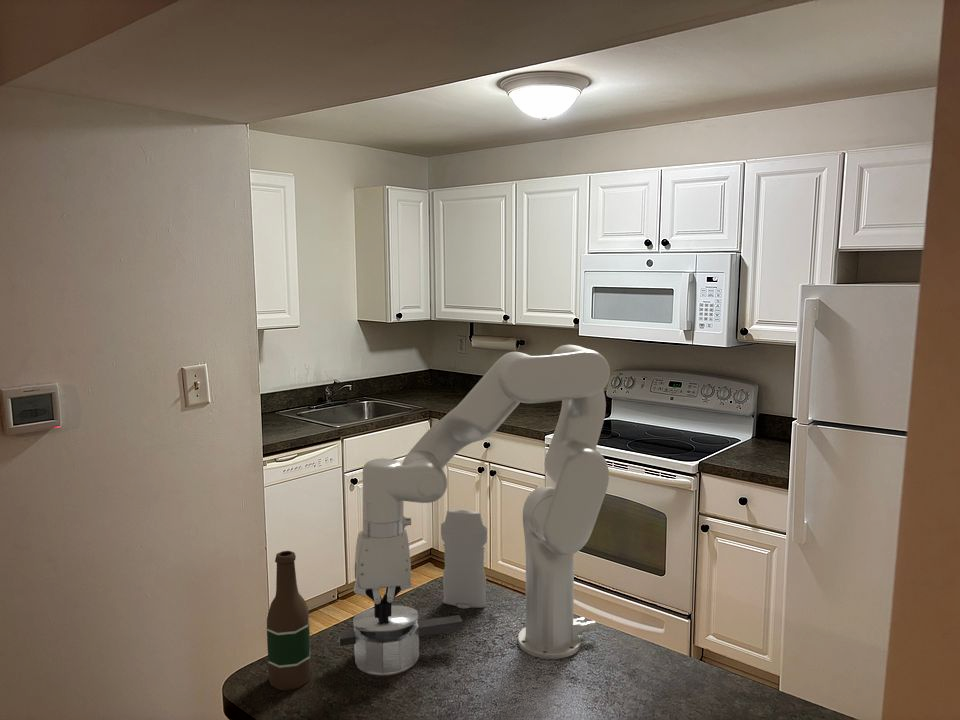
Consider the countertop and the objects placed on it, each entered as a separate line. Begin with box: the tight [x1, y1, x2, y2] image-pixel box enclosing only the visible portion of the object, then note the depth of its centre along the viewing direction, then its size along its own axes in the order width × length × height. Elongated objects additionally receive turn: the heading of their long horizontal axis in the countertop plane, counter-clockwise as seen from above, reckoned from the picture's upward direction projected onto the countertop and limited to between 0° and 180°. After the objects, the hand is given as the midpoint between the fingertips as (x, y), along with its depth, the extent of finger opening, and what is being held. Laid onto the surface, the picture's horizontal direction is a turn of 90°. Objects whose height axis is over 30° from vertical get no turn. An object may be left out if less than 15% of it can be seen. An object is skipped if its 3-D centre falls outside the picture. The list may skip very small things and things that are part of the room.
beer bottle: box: [266, 550, 312, 691], centre depth 125 cm, size 8×8×24 cm
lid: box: [352, 604, 419, 633], centre depth 133 cm, size 12×12×3 cm
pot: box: [338, 614, 464, 677], centre depth 134 cm, size 24×13×6 cm, turn 106°
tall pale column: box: [440, 509, 488, 609], centre depth 154 cm, size 11×4×22 cm, turn 77°
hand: (382, 620), depth 130 cm, fingers closed
